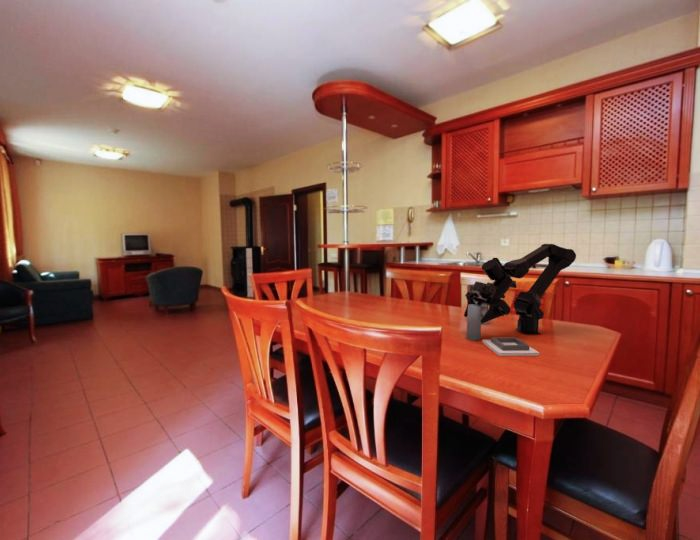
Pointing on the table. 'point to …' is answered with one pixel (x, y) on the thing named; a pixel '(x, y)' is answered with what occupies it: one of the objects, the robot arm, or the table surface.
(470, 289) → the coffee box
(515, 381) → the table surface
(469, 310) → the slate post
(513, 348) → the seat board
